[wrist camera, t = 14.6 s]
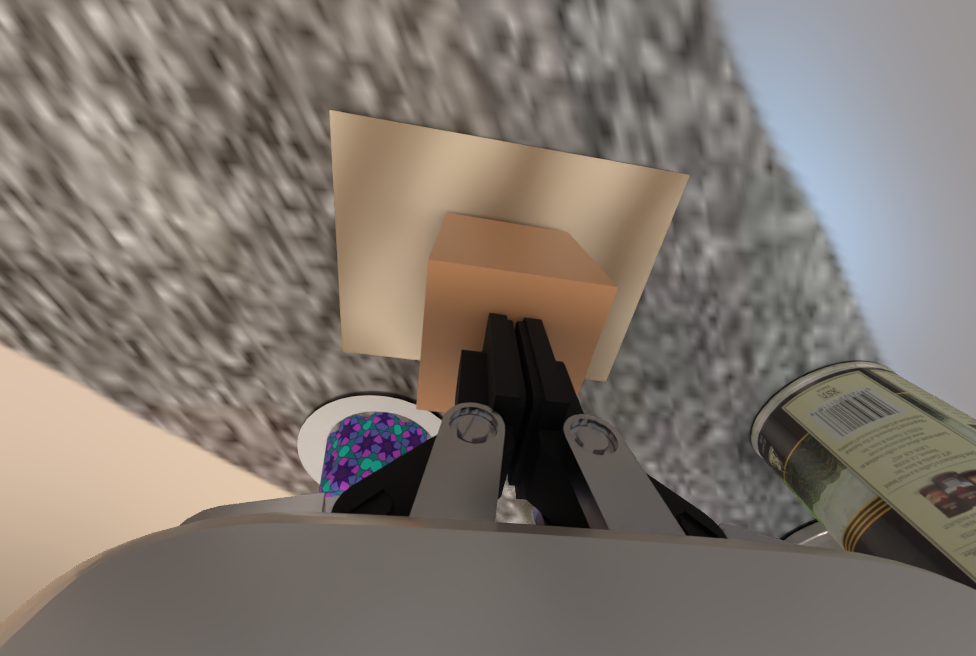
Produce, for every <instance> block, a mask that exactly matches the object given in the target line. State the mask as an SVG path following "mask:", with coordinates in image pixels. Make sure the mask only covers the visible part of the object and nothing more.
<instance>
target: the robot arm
mask: <svg viewBox="0 0 976 656" xmlns="http://www.w3.org/2000/svg"><path fill="white" fill-rule="evenodd" d="M507 474H508V483H509V485H514V486H515V492H516V499H526V500H527V501H529V502H530V503H531V504H532V505H533V506H534V512H533V514H534V521H535V524H536V525H530V524H515V523H500V522H495V520H496V510H497V501H498V499H499V498H500V497H501V495H502V491H503V487H504V484H505V480H506V476H507ZM0 656H976V590H975V589H973V588H971V587H968V586H966V585H963V584H961V583H958V582H956V581H953V580H951V579H948V578H946V577H944V576H941V575H939V574H936V573H933V572H931V571H928V570H925V569H921V568H918V567H915V566H911V565H908V564H905V563H901V562H898V561H894V560H890V559H886V558H881V557H876V556H872V555H867V554H862V553H857V552H850V551H844V549H843V548H842V547H841V546H840V545H839V544H838V543H837V541H836V540H835V539H834V538H833V537H832V536H831V535H830V534H829V532H828V531H827V530H826V529H825V528H824V527H823V526H822V524H821V523H820V522H816V523H814V524H812V525H809V526H807V527H805V528H802V529H801V530H799V531H797V532H795V533H793V534H792V535H790V536H789V537H787V538H786V539H784V540H780V539H777V538H774V537H770V536H767V535H763V534H760V533H756V532H753V531H749V530H746V529H743V528H739V527H736V526H732V525H729V524H725V523H722V522H721V523H720V524H719V526H718V525H717V524H716V523H715V522H714V521H713V520H712V519H711V518H709V517H708V516H707V515H706V514H705V513H703V512H702V511H700V510H699V509H698V508H696V507H695V506H693V505H692V504H690V503H689V502H687V501H686V500H684V499H683V498H681V497H680V496H679V495H677V494H676V493H674V492H673V491H671V490H670V489H668V488H667V487H665V486H664V485H663V484H661V483H660V482H658V481H657V480H655V479H654V478H652V477H651V476H649V475H648V474H647V473H645V471H644V470H643V468H642V467H641V465H640V464H639V462H638V461H637V459H636V458H635V456H634V455H633V453H632V451H631V450H630V448H629V447H628V445H627V444H626V442H625V441H624V439H623V438H622V436H621V435H620V434H619V432H618V431H617V430H616V429H615V428H614V427H613V426H612V425H610V424H609V423H608V422H606V421H604V420H602V419H600V418H598V417H595V416H592V415H586V414H583V411H582V408H581V406H580V403H579V400H578V398H577V395H576V392H575V390H574V387H573V384H572V382H571V379H570V376H569V374H568V371H567V368H566V366H565V364H564V362H562V361H556V360H555V357H554V354H553V351H552V348H551V345H550V342H549V339H548V336H547V334H546V331H545V328H544V325H543V322H542V320H541V319H533V318H525V317H524V318H523V321H517V322H516V326H515V330H514V325H513V320H507V315H502V314H495V313H489V316H488V321H487V326H486V332H485V338H484V343H483V349H482V352H479V351H470V350H461V356H460V362H459V369H458V377H457V385H456V394H455V406H453V407H452V408H450V409H449V410H448V411H447V412H446V413H445V415H444V417H443V419H442V422H441V425H440V428H439V431H438V434H437V435H435V436H434V437H432V438H430V439H429V440H427V441H425V442H423V443H422V444H420V445H418V446H417V447H415V448H413V449H412V450H410V451H408V452H407V453H405V454H403V455H402V456H400V457H398V458H397V459H395V460H393V461H392V462H390V463H388V464H387V465H385V466H383V467H382V468H380V469H378V470H377V471H375V472H373V473H372V474H370V475H368V476H367V477H365V478H363V479H362V480H360V481H358V482H357V483H355V484H353V485H352V486H351V487H349V488H348V489H347V490H345V491H344V492H343V493H342V494H341V495H340V496H334V497H327V498H325V492H324V493H316V494H308V495H301V496H293V497H285V498H277V499H270V500H262V501H255V502H246V503H239V504H231V505H224V506H218V507H214V508H210V509H207V510H203V511H201V512H199V513H198V514H196V515H194V516H192V517H190V518H188V519H187V520H185V521H184V522H183V523H182V524H181V525H180V526H177V527H174V528H170V529H166V530H162V531H158V532H155V533H151V534H149V535H146V536H143V537H140V538H137V539H134V540H131V541H129V542H126V543H123V544H121V545H119V546H116V547H114V548H111V549H109V550H106V551H104V552H102V553H100V554H98V555H96V556H95V557H92V558H90V559H88V560H86V561H84V562H82V563H81V564H79V565H77V566H76V567H74V568H73V569H71V570H69V571H68V572H66V573H65V574H64V575H62V576H60V577H59V578H57V579H56V580H54V581H53V582H51V583H50V584H49V585H47V586H46V587H45V588H43V589H42V590H41V591H39V592H38V593H37V594H36V595H34V596H33V597H32V598H30V599H29V600H28V601H27V602H25V603H24V604H23V605H22V606H21V607H19V608H18V609H17V610H16V611H15V612H13V613H12V614H11V615H10V616H9V617H8V618H6V619H5V620H4V621H3V622H1V624H0Z"/></svg>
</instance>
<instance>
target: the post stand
mask: <svg viewBox="0 0 976 656" xmlns="http://www.w3.org/2000/svg"><path fill="white" fill-rule="evenodd" d="M329 111H330V130H331V149H332V167H333V186H334V205H335V223H336V242H337V260H338V279H339V298H340V316H341V335H342V351H343V352H352V353H360V354H369V355H378V356H386V357H395V358H404V359H412V360H420V356H421V343H422V331H423V318H424V306H425V293H426V281H427V268H428V259H429V256H430V254H431V251H432V249H433V246H434V244H435V241H436V239H437V236H438V234H439V231H440V229H441V226H442V224H443V221H444V219H445V216H446V214H447V213H452V214H458V215H464V216H471V217H477V218H483V219H489V220H495V221H502V222H508V223H514V224H520V225H527V226H533V227H539V228H545V229H551V230H558V231H564V232H568V233H569V234H570V235H571V236H572V237H573V238H574V239H575V240H576V242H577V243H578V244H579V245H580V246H581V247H582V248H583V249H584V250H585V251H586V253H587V254H588V255H589V256H590V257H591V258H592V259H593V260H594V261H595V262H596V263H597V265H598V266H599V267H600V268H601V269H602V270H603V271H604V272H605V273H606V274H607V276H608V277H609V278H610V279H611V280H612V281H613V282H614V283H615V284H616V285H617V287H618V289H617V292H616V294H615V297H614V300H613V302H612V305H611V308H610V311H609V313H608V316H607V319H606V321H605V324H604V327H603V329H602V332H601V335H600V338H599V340H598V343H597V346H596V348H595V351H594V354H593V357H592V359H591V362H590V365H589V367H588V370H587V373H586V376H585V378H584V379H586V380H595V381H603V382H606V381H607V378H608V376H609V373H610V371H611V368H612V366H613V363H614V361H615V359H616V356H617V354H618V351H619V349H620V346H621V344H622V341H623V339H624V336H625V334H626V331H627V329H628V326H629V324H630V321H631V319H632V317H633V314H634V312H635V309H636V307H637V304H638V302H639V299H640V297H641V294H642V292H643V289H644V287H645V284H646V282H647V280H648V277H649V275H650V272H651V270H652V267H653V265H654V262H655V260H656V257H657V255H658V252H659V250H660V247H661V245H662V243H663V240H664V238H665V235H666V233H667V230H668V228H669V225H670V223H671V220H672V218H673V215H674V213H675V210H676V208H677V205H678V203H679V201H680V198H681V196H682V193H683V191H684V188H685V186H686V183H687V181H688V178H689V176H690V175H687V174H682V173H677V172H671V171H666V170H660V169H655V168H649V167H644V166H638V165H633V164H627V163H622V162H616V161H611V160H605V159H599V158H594V157H588V156H583V155H577V154H572V153H566V152H561V151H555V150H550V149H544V148H538V147H533V146H527V145H522V144H516V143H511V142H505V141H500V140H494V139H489V138H483V137H478V136H472V135H466V134H461V133H455V132H450V131H444V130H439V129H433V128H428V127H422V126H417V125H411V124H406V123H400V122H394V121H389V120H383V119H378V118H372V117H367V116H361V115H356V114H350V113H345V112H339V111H333V110H329Z"/></svg>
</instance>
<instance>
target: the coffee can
mask: <svg viewBox="0 0 976 656" xmlns="http://www.w3.org/2000/svg"><path fill="white" fill-rule="evenodd" d="M751 442H752V446H753V448H754V450H755V451H756V453H757V454H758V455H759V456H760V457H761V458H762V459H764V460H765V461H766V463H767V464H768V465H769V466H770V467H771V468H772V469H773V470H774V472H775V473H776V474H777V475H778V476H779V477H780V478H781V479H782V481H783V482H784V483H785V484H786V485H787V486H788V487H789V488H790V490H791V491H792V492H793V493H794V494H795V495H796V496H797V497H798V498H799V500H800V501H801V502H802V503H803V504H804V505H805V506H806V507H807V509H808V510H809V511H810V512H811V513H812V514H813V515H814V517H815V518H816V519H817V520H818V521H819V522H820V523H821V524H822V526H823V527H824V528H825V529H826V530H827V531H828V532H829V534H830V535H831V536H832V537H833V538H834V539H835V540H836V541H837V543H838V544H839V545H840V546H841V547H842V548H843V549H844V551H850V552H857V553H862V554H867V555H872V556H876V557H881V558H886V559H890V560H894V561H898V562H901V563H905V564H908V565H911V566H915V567H918V568H921V569H925V570H928V571H931V572H933V573H936V574H939V575H941V576H944V577H946V578H948V579H951V580H953V581H956V582H958V583H961V584H963V585H966V586H968V587H971V588H973V589H975V590H976V419H974V418H972V417H970V416H968V415H967V414H965V413H963V412H962V411H960V410H958V409H956V408H954V407H953V406H951V405H949V404H948V403H946V402H944V401H942V400H941V399H939V398H937V397H935V396H933V395H932V394H930V393H928V392H926V391H925V390H923V389H921V388H919V387H918V386H916V385H914V384H912V383H910V382H909V381H907V380H905V379H904V378H902V377H900V376H899V375H897V374H896V373H895V372H893V371H892V370H891V369H889V368H888V367H886V366H884V365H879V364H877V363H871V362H862V361H859V362H846V363H840V364H835V365H830V366H828V367H825V368H822V369H819V370H817V371H814V372H812V373H809V374H807V375H805V376H803V377H801V378H799V379H797V380H796V381H794V382H792V383H791V384H789V385H788V386H786V387H785V388H784V389H782V390H781V391H780V392H779V393H777V394H776V395H775V396H774V397H772V398H771V399H770V401H769V402H768V403H767V404H766V405H765V406H764V407H763V409H762V410H761V412H760V413H759V414H758V416H757V418H756V419H755V422H754V424H753V427H752V431H751Z"/></svg>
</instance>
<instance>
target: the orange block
mask: <svg viewBox="0 0 976 656" xmlns="http://www.w3.org/2000/svg"><path fill="white" fill-rule="evenodd" d="M617 289H618V287H617V285H616V284H615V283H614V282H613V281H612V280H611V279H610V278H609V277H608V276H607V274H606V273H605V272H604V271H603V270H602V269H601V268H600V267H599V266H598V265H597V263H596V262H595V261H594V260H593V259H592V258H591V257H590V256H589V255H588V254H587V253H586V251H585V250H584V249H583V248H582V247H581V246H580V245H579V244H578V243H577V242H576V240H575V239H574V238H573V237H572V236H571V235H570V234H569V233H568V232H564V231H558V230H551V229H545V228H539V227H533V226H527V225H520V224H514V223H508V222H502V221H495V220H489V219H483V218H477V217H471V216H464V215H458V214H452V213H447V214H446V216H445V219H444V221H443V224H442V226H441V229H440V231H439V234H438V236H437V239H436V241H435V244H434V246H433V249H432V251H431V254H430V256H429V259H428V268H427V281H426V293H425V306H424V318H423V331H422V343H421V356H420V368H419V381H418V393H417V405H416V409H417V410H426V411H436V412H447V411H448V410H449V409H450V408H452V407H453V406H455V394H456V385H457V377H458V369H459V362H460V356H461V350H470V351H479V352H482V349H483V343H484V338H485V332H486V326H487V321H488V316H489V313H495V314H502V315H507V320H513V325H514V330H515V326H516V322H517V321H523V318H524V317H525V318H533V319H541V320H542V322H543V325H544V328H545V331H546V334H547V336H548V339H549V342H550V345H551V348H552V351H553V354H554V357H555V360H556V361H562V362H564V364H565V366H566V368H567V371H568V374H569V376H570V379H571V382H572V384H573V387H574V390H575V392H576V395H577V397H578V395H579V392H580V389H581V386H582V384H583V381H584V378H585V376H586V373H587V370H588V367H589V365H590V362H591V359H592V357H593V354H594V351H595V348H596V346H597V343H598V340H599V338H600V335H601V332H602V329H603V327H604V324H605V321H606V319H607V316H608V313H609V311H610V308H611V305H612V302H613V300H614V297H615V294H616V292H617Z"/></svg>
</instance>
